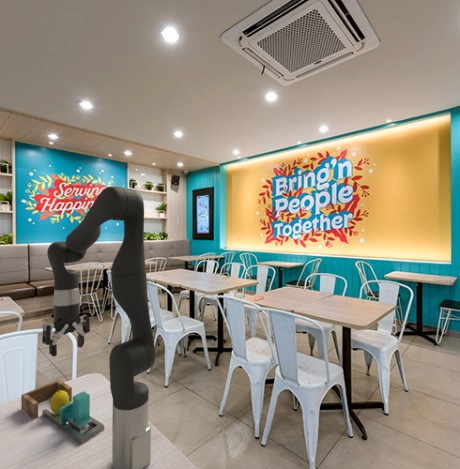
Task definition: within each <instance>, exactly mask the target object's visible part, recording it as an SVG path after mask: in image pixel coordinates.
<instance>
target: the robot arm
mask: <svg viewBox="0 0 460 469" xmlns="http://www.w3.org/2000/svg"><path fill="white" fill-rule="evenodd" d="M108 221H119V222H120V221H121V222H122V221H123V230H124V231H123V240H122V242H121V245H120V247H119V249H118V252H117V253H116V255H115V258H114V259H113V262H112V265H111V267H110V268H111V269H110V281H111V291H112V292H111V293H112V296H113V298H114V299H115V301H116V302H117V304H118V306H120V308H121V309H122V310H123V312H124V313H125V314H126V316H127V318H128V321H129V323H130V326H131V327H130V328H131V334H132V336H131V339H130V340H127V341H124V342H122V343H121V342H120V343H118V344H116V345H115V346H114V347H112V349H111V350H110V354H109V359H108V360H109V364H108V365H109V366H108V367H109V387H110V394H111V398H112V433H111V434H112V438H111V440H112V447H111V452H112V459H111V461H112V463H111V464H112V469H144V468H146V467H147V466H148V465H150V464H151V454H152V452H151V449H152V448H151V446H152V445H151V444H152V436H151V435H152V429H151V427H149V407H150V406H149V404H150V403H149V402H150V401H149V400H150V399H149V398H150V394H149V393H150V391H149V390H150V389H149V387H148V385H147V384H146V383H144V382H142V381H137V380H136V381H135V377H136V376H138V375H140V374H142V373H144V372H146V371H148V370H149V369H151V368H152V367H153V365H154V364H155V361H156V346H155V340H154V333H153V328H152V323H151V322H152V321H151V316H150V306H149V296H148V281H147V280H148V278H147V268H146V257H145V241H144V240H145V238H144V237H145V235H144V234H145V203H144V198H143V195H142V194H141V192H140V191H139V190H137V189H134V188H127V187H121V186H113V185H111V186H107V187H105V188H104V189H103V190H102V191H101V192H100V193H99V194H98V196H97V197H96V198H95V200H94V201H93V203H92V205H91V206H90V207H89V209H88V211H87V212H86V214H85V216H84V217H83V219H82V221H80V223H78V225H77V226H76V227H75V228H74V229H73V230H72V231H71V232H69V233H68V235H67V236H66V238H65V241H54V242H52V243H51V244H50V245H49V246H48V247H47V248H48V249H47V253H46V254H47V258H48V261H49V264H50V267H51V270H52V274H53V279H54V281H53V282H54V284H53V285H54V286H53V287H54V289H53V290H54V291H53V302H52V303H53V323H50V324H47V323H44V324H43V325H42V337H41V338H42V340H41V344H44V345H46V346H48V353H49V355H50V356H52V357H53V358H54V357H56V356H58V355H57V354H58V344H57V343H58V341H59V340H60V339H61V338H62V337H63V335H68V334H69V333H74V332H75V333H76V334H77V335H76V338H77V340H76V341H77V343H76V346H77V347H78V348H80V349H81V348H83V347H84V344H85V335H86V334H88V333H90V332H91V329H90V328H91V327H90V316H89V315H87V314H82V316H80V314H81V306H80V305H81V300H80V299H81V297H80V296H81V295H80V284H79V283H80V282H79V281H80V280H79V279H80V278H79V276H80V275H79V272H78V270H74V269H69V268H66V267H65V264H70V263H78V262H80V261H81V260H82V259H84V257H85V256H86V253H87V251H88V249H89V248H90V247H92V246H93V245H94V244H95V243H96V242H97V241H98V239H99V238H100V236H101V234H102V233H101V232H102V230H101V226H102V225H103V224H104V223H106V222H108ZM80 322H82V323H81V324H82V328H81V326H80V325H79V324H80ZM53 329H54V331H53ZM52 331H53V332H52ZM51 332H52V334H51Z"/></svg>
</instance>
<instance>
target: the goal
mask: <svg viewBox="0 0 460 469" xmlns="http://www.w3.org/2000/svg"><path fill="white" fill-rule="evenodd" d="M59 390H63V391H65V392H67V394H68V396H69V403H71V402H73V387H72V386H71V385H69V384H67V383H65V382H63V381H62V380H59V379H56V380H54V381H52V382H50V383H47V384H44V385H43V386H40V387H38V388H35V389H33V390H32V389H31V391H27V392H25V393H23V394H21V397H20V398H21V400H20V401H21V407H20V408H21V410H22V412H24V413H26V414H27V415H28V416H30V417H31V418H32V419H33V420H36V419H38V418H39V404H40V403H42V402H45V401H47V400H49V399H51V398H52V396H53V395H54V394H55V393H56V392H58V391H59Z"/></svg>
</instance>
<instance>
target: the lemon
mask: <svg viewBox="0 0 460 469" xmlns="http://www.w3.org/2000/svg"><path fill="white" fill-rule="evenodd" d="M69 403H70V402H69V396H68V394H67V392H65V391H63V390H59V391H58V392H56V393H55V394H54V395H53V396H52V397H51V398H50V401H49V404H50V405H49V406H50V410H51V412H52V413H53V414H58V415H60V408H61V407H63V406H65V405H67V404H69Z"/></svg>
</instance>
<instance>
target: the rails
mask: <svg viewBox="0 0 460 469" xmlns="http://www.w3.org/2000/svg"><path fill="white" fill-rule="evenodd" d="M41 412H42V413H41V415H42V416H43V417H44V418H45V419H47V420H49V422H51V423H52V424H53V425H55V426H56V427H58V428H59V429H60V430H62V431H63V432H64V433H66V434H67V435H69V437H71V438H72V439H74V440H75V441H76V442H78V443H79V444H80V445H82V444H84V443H86V442H87V441H89V440H91V439H92V438H93V437H95V436H97V435H98V434H100V433H101V432H103V431H104V430H105V424H103V423H102V422H101V421H98V420H97V419H95V418H94V417H92V416H91V415H90V419H91V420H92V421H93V428H91V429H89V430H88V431H86V432H84V433H83V434H81V433H79V432H78V431H76V430H75V429H74V428H72V427H71V426H69V425H68V422H66V423H64V424H62V425H61V424H60V417H58V416H57V415H55V413H54V412H52V411H49V410H48V409H46V408H45V409H43V410H42V411H41Z"/></svg>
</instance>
